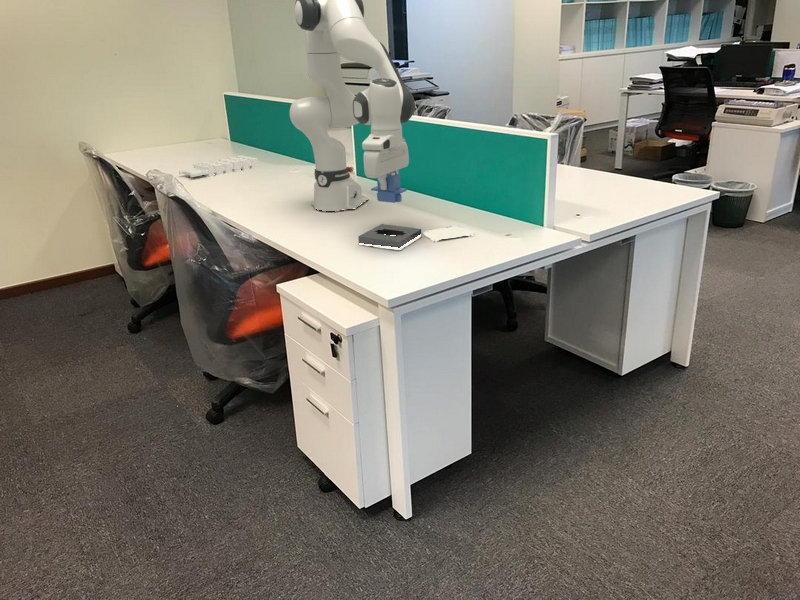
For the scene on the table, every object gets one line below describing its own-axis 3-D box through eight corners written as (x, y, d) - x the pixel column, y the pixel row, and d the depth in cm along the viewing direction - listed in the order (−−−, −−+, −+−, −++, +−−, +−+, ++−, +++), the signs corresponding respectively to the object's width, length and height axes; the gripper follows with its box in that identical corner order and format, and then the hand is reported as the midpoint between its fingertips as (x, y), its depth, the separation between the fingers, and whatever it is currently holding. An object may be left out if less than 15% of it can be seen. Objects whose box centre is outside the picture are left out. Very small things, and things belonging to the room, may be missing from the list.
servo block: (377, 197, 188) (376, 170, 185) (407, 200, 184) (406, 172, 181) (371, 200, 185) (370, 172, 182) (401, 203, 181) (400, 174, 178)
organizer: (257, 158, 300) (191, 170, 277) (258, 168, 302) (193, 181, 279) (241, 155, 309) (176, 167, 286) (243, 165, 311) (178, 177, 288)
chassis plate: (382, 232, 199) (381, 223, 198) (421, 237, 192) (421, 228, 191) (358, 245, 187) (358, 236, 186) (399, 251, 181) (399, 242, 180)
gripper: (394, 133, 188) (396, 179, 193) (358, 144, 171) (361, 194, 177) (413, 134, 185) (414, 181, 190) (378, 145, 168) (380, 195, 174)
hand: (388, 187), depth 183 cm, fingers closed on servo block, 4 cm apart
